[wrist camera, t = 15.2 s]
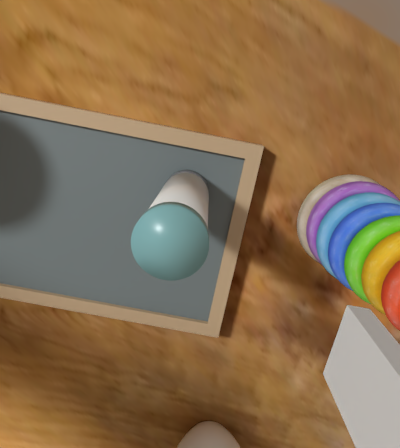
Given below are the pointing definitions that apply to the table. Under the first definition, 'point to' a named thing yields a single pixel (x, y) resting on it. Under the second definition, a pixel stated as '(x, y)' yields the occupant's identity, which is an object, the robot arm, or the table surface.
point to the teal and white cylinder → (174, 229)
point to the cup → (208, 437)
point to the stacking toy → (356, 238)
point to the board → (112, 212)
